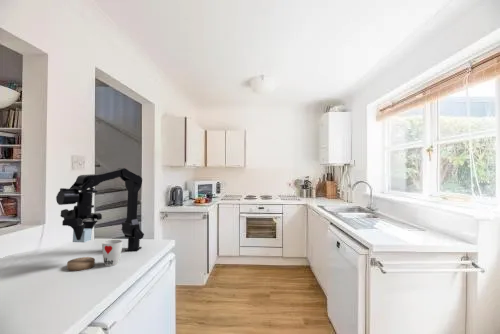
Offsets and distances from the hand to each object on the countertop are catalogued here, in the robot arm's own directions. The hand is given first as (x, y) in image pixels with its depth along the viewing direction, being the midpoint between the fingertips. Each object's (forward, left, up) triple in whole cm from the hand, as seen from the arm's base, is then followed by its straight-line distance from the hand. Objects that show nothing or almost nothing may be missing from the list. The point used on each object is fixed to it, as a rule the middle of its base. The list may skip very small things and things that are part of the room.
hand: (82, 238), depth 116 cm
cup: (-1, +13, -12) cm, 17 cm away
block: (0, 0, -1) cm, 1 cm away
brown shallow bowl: (+3, +2, -11) cm, 12 cm away
